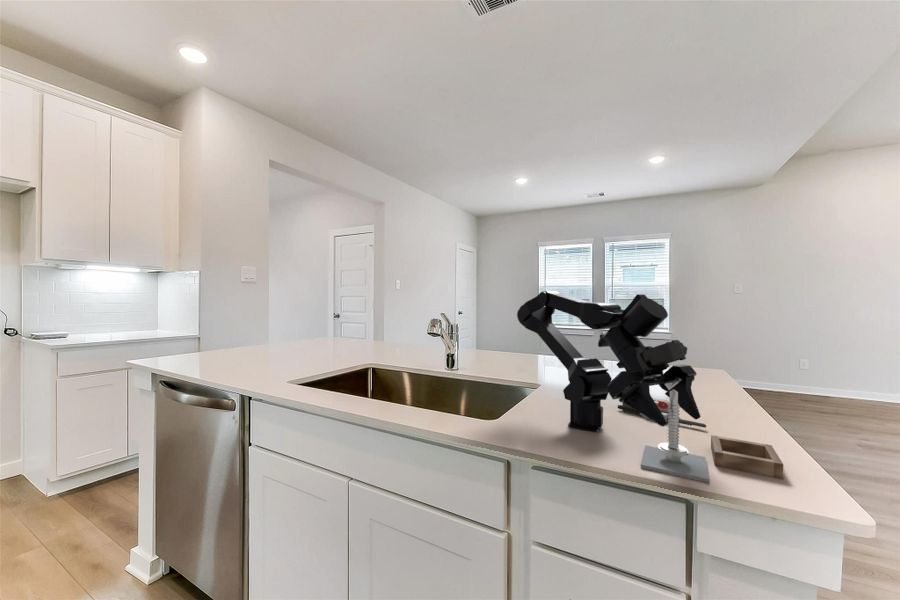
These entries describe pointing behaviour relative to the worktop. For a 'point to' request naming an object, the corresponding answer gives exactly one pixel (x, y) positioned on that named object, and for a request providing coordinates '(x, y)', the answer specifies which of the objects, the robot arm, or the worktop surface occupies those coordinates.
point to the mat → (676, 464)
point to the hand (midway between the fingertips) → (682, 421)
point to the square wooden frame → (746, 456)
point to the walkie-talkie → (664, 410)
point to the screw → (673, 433)
